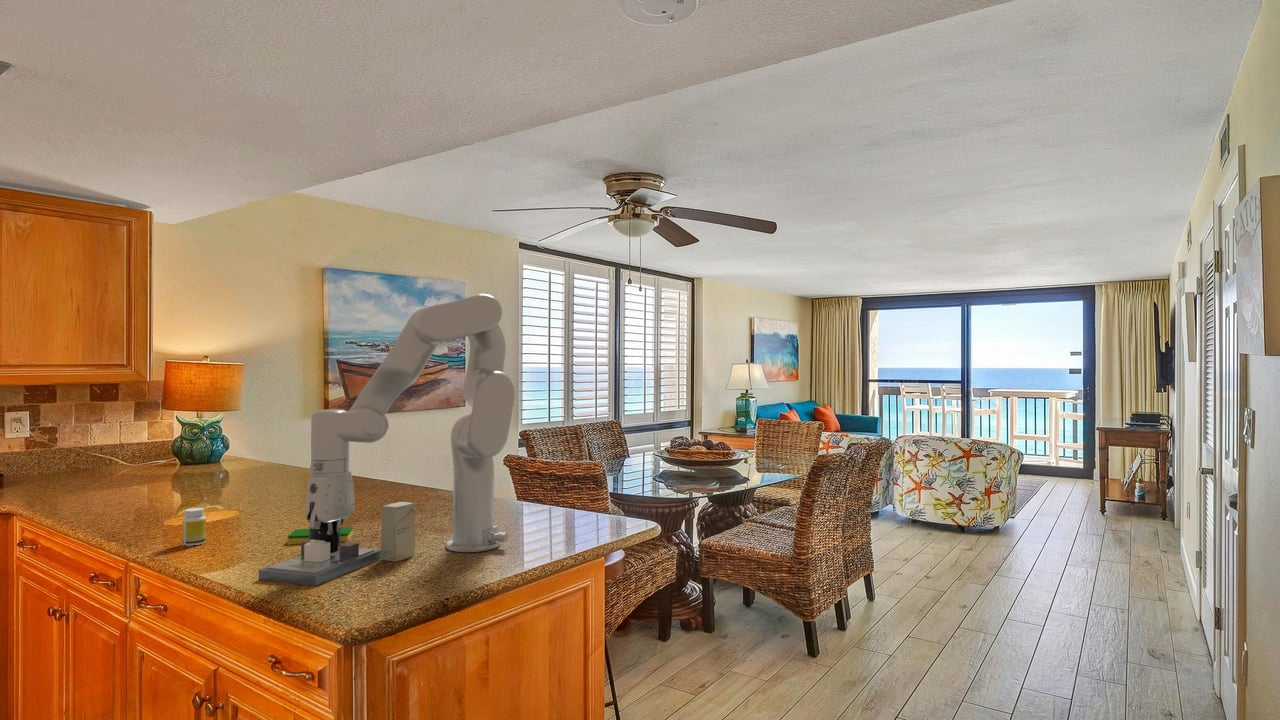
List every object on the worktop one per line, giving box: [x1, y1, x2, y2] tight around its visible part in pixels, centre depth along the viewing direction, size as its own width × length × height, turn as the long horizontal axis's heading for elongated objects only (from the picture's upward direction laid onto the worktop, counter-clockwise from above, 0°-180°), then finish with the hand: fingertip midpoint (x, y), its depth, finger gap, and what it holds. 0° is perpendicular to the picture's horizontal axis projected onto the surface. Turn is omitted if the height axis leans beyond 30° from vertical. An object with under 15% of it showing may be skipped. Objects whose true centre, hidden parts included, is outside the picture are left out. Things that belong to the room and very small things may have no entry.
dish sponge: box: [287, 526, 354, 545], centre depth 174 cm, size 7×14×2 cm, turn 103°
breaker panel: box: [258, 539, 381, 587], centre depth 148 cm, size 14×20×5 cm
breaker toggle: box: [304, 540, 330, 563], centre depth 147 cm, size 4×3×4 cm
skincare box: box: [380, 501, 416, 563], centre depth 157 cm, size 6×4×12 cm
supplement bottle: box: [182, 507, 207, 547], centre depth 169 cm, size 5×5×8 cm
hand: (329, 551), depth 150 cm, fingers closed
